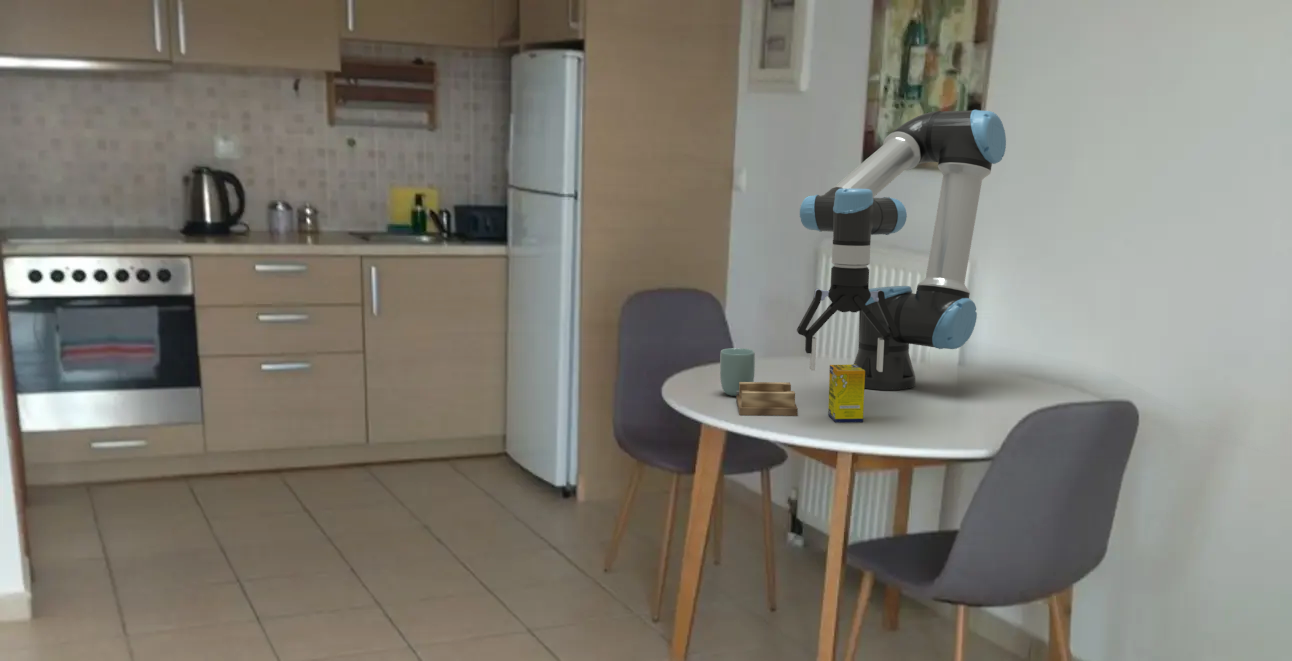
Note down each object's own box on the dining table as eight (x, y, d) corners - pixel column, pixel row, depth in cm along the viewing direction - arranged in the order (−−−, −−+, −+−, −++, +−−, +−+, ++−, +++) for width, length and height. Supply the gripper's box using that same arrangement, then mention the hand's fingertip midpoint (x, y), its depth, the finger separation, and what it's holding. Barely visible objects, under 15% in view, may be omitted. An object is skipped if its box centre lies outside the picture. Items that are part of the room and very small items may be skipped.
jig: (791, 401, 239) (791, 381, 238) (797, 415, 226) (798, 394, 225) (736, 401, 239) (736, 381, 238) (739, 415, 226) (740, 394, 225)
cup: (752, 399, 241) (753, 354, 239) (717, 397, 242) (718, 353, 241) (755, 391, 248) (756, 348, 247) (722, 390, 250) (722, 347, 248)
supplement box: (827, 416, 226) (829, 364, 224) (855, 415, 226) (857, 364, 224) (834, 423, 220) (836, 370, 218) (863, 422, 220) (865, 369, 219)
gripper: (909, 265, 221) (903, 367, 224) (786, 263, 222) (782, 365, 225) (917, 268, 214) (911, 374, 217) (790, 266, 215) (786, 372, 218)
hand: (845, 370), depth 221 cm, fingers open, 13 cm apart
